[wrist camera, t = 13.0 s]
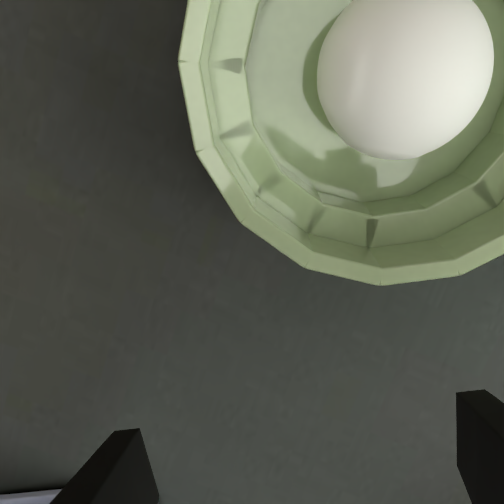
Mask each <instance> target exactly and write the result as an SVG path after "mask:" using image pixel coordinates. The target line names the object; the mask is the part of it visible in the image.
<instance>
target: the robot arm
mask: <svg viewBox="0 0 504 504" xmlns="http://www.w3.org/2000/svg"><path fill="white" fill-rule="evenodd" d="M456 417H457V467H458V469H459V472H460V474H461V477H462V479H463V482H464V484H465V487H466V490H467V492H468V494H469V497H470V499H471V502H472V504H504V403H503V402H501V401H500V400H499V399H497V398H496V397H495V396H493V395H492V394H490V393H489V392H488V391H486V390H485V389H484V390H475V391H466V392H458V393H456ZM158 500H159V493H158V490H157V486H156V483H155V480H154V476H153V473H152V469H151V466H150V462H149V459H148V455H147V452H146V449H145V445H144V442H143V438H142V435H141V431H140V428H137V429H128V430H120V431H114V432H113V433H112V434H111V435H110V436H109V437H108V438H107V440H106V441H105V442H104V443H103V444H102V445H101V446H100V447H99V448H98V450H97V451H96V452H95V453H94V454H93V455H92V456H91V458H90V459H89V460H88V461H87V462H86V463H85V464H84V465H83V467H82V468H81V469H80V470H79V471H78V472H77V473H76V475H75V476H74V477H73V478H72V479H71V480H70V481H69V482H68V483H67V484H66V486H65V487H64V488H63V489H56V490H46V491H36V492H26V493H16V494H6V495H0V504H159V503H158Z"/></svg>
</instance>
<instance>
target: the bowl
mask: <svg viewBox="0 0 504 504" xmlns="http://www.w3.org/2000/svg"><path fill="white" fill-rule="evenodd" d="M352 1H353V0H188V1H187V7H186V13H185V18H184V24H183V30H182V36H181V41H180V47H179V53H178V61H179V62H178V69H179V74H180V79H181V84H182V89H183V94H184V100H185V105H186V110H187V115H188V120H189V125H190V131H191V136H192V141H193V146H194V150H195V151H196V155H197V157H198V158H199V160H200V161H201V163H202V165H203V166H204V168H205V169H206V171H207V172H208V174H209V176H210V177H211V179H212V180H213V182H214V183H215V185H216V187H217V188H218V190H219V191H220V193H221V194H222V196H223V198H224V199H225V201H226V202H227V204H228V205H229V207H230V208H231V210H232V212H233V213H234V215H235V216H236V218H237V219H238V221H239V222H241V224H242V225H243V226H245V227H246V228H248V229H249V230H251V231H252V232H253V233H255V234H256V235H258V236H259V237H260V238H262V239H263V240H265V241H266V242H267V243H269V244H270V245H272V246H273V247H275V248H276V249H277V250H279V251H280V252H282V253H283V254H284V255H286V256H287V257H289V258H290V259H291V260H293V261H294V262H296V263H297V264H299V265H300V266H301V267H304V268H306V269H310V270H314V271H318V272H322V273H326V274H330V275H335V276H339V277H343V278H347V279H351V280H356V281H360V282H364V283H368V284H372V285H377V286H378V285H380V286H384V285H392V284H399V283H407V282H415V281H423V280H431V279H439V278H447V277H454V276H458V275H462V274H464V273H467V272H469V271H471V270H473V269H475V268H477V267H479V266H481V265H483V264H485V263H487V262H489V261H491V260H493V259H495V258H497V257H499V256H501V255H503V254H504V0H472V1H473V2H474V3H475V4H476V5H477V6H478V8H479V9H480V11H481V12H482V14H483V16H484V18H485V20H486V22H487V24H488V27H489V29H490V33H491V36H492V41H493V48H494V66H493V74H492V79H491V83H490V86H489V89H488V92H487V94H486V97H485V99H484V101H483V103H482V105H481V107H480V109H479V110H478V112H477V113H476V115H475V116H474V118H473V119H472V120H471V121H470V123H469V124H468V125H467V126H466V127H465V128H464V129H463V130H462V131H461V132H460V133H459V134H458V135H457V136H456V137H454V138H453V139H452V140H450V141H449V142H447V143H446V144H444V145H443V146H441V147H439V148H437V149H435V150H433V151H431V152H429V153H426V154H424V155H422V156H420V157H417V158H413V159H405V160H389V159H381V158H376V157H372V156H369V155H366V154H363V153H361V152H359V151H357V150H355V149H353V148H351V147H350V146H348V145H347V144H346V143H345V142H344V141H343V140H342V138H341V137H340V136H339V135H338V134H337V133H336V131H335V130H334V129H333V127H332V126H331V124H330V123H329V121H328V119H327V117H326V115H325V113H324V110H323V108H322V106H321V103H320V100H319V97H318V91H317V67H318V59H319V54H320V50H321V47H322V44H323V41H324V39H325V37H326V35H327V34H328V32H329V30H330V29H331V27H332V25H333V24H334V22H335V20H336V19H337V17H338V16H339V15H340V14H341V12H342V11H343V10H344V9H345V8H346V7H347V6H348V5H349V4H350V3H351V2H352Z"/></svg>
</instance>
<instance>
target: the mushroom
mask: <svg viewBox="0 0 504 504" xmlns="http://www.w3.org/2000/svg"><path fill="white" fill-rule="evenodd" d="M493 66H494V48H493V41H492V36H491V33H490V29H489V27H488V24H487V22H486V20H485V18H484V16H483V14H482V12H481V11H480V9H479V8H478V6H477V5H476V4H475V3H474V2H473V1H472V0H353V1H352V2H351V3H350V4H349V5H348V6H347V7H346V8H345V9H344V10H343V11H342V12H341V14H340V15H339V16H338V17H337V19H336V20H335V22H334V24H333V25H332V27H331V29H330V30H329V32H328V34H327V35H326V37H325V39H324V41H323V44H322V47H321V50H320V54H319V59H318V67H317V91H318V97H319V100H320V103H321V106H322V108H323V110H324V113H325V115H326V117H327V119H328V121H329V123H330V124H331V126H332V127H333V129H334V130H335V131H336V133H337V134H338V135H339V136H340V137H341V138H342V140H343V141H344V142H345V143H346V144H347V145H348V146H350V147H351V148H353V149H355V150H357V151H359V152H361V153H363V154H366V155H369V156H372V157H376V158H381V159H389V160H405V159H413V158H417V157H420V156H422V155H424V154H426V153H429V152H431V151H433V150H435V149H437V148H439V147H441V146H443V145H444V144H446V143H447V142H449V141H450V140H452V139H453V138H454V137H456V136H457V135H458V134H459V133H460V132H461V131H462V130H463V129H464V128H465V127H466V126H467V125H468V124H469V123H470V121H471V120H472V119H473V118H474V116H475V115H476V113H477V112H478V110H479V109H480V107H481V105H482V103H483V101H484V99H485V97H486V94H487V92H488V89H489V86H490V83H491V79H492V74H493Z"/></svg>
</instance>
